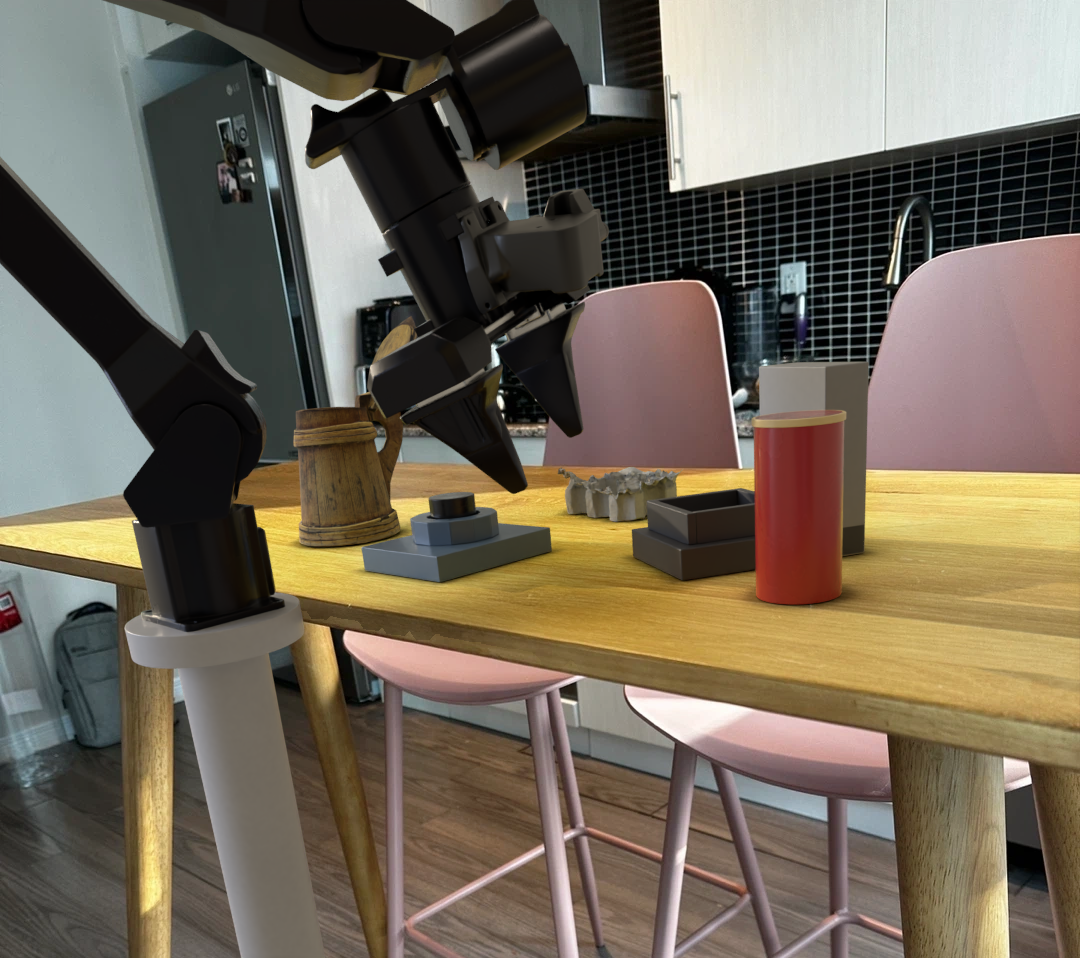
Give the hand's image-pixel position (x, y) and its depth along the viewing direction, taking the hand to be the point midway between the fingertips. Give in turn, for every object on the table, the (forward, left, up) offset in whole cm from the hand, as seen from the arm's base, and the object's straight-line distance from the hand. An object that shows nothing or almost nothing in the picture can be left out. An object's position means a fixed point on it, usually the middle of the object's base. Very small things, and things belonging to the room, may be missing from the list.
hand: (550, 461), depth 64 cm
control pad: (+3, +14, -8) cm, 16 cm away
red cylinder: (+5, -15, -8) cm, 17 cm away
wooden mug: (+8, +32, -8) cm, 33 cm away
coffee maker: (+13, -5, -8) cm, 16 cm away
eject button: (+3, +14, -5) cm, 15 cm away
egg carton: (+24, +16, -8) cm, 30 cm away
